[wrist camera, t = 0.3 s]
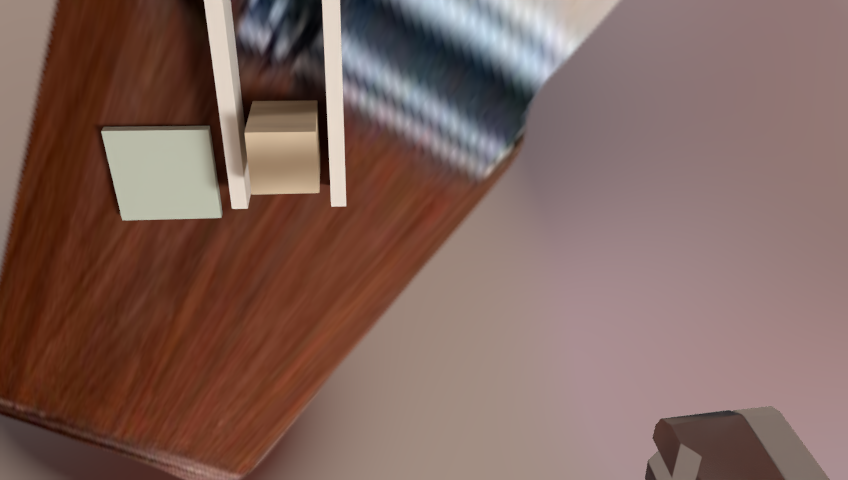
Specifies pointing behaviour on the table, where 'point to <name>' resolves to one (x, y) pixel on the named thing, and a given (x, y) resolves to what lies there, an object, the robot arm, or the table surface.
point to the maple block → (283, 147)
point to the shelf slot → (232, 108)
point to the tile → (163, 172)
